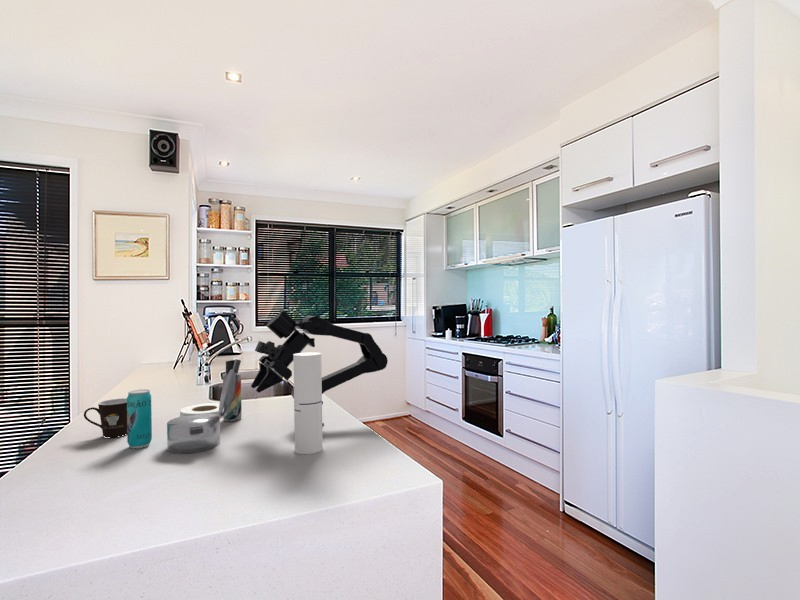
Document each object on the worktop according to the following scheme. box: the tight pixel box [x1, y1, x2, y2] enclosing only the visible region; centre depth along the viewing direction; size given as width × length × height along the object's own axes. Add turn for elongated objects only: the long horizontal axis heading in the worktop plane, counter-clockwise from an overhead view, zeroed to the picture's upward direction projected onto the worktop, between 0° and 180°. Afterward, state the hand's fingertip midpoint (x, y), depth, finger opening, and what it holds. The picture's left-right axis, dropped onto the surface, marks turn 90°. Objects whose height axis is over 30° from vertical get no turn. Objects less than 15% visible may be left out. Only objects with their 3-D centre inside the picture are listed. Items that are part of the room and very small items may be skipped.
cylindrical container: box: [293, 351, 324, 455], centre depth 114 cm, size 7×7×25 cm
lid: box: [219, 358, 242, 416], centre depth 124 cm, size 16×13×2 cm
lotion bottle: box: [222, 359, 243, 422], centre depth 145 cm, size 6×6×20 cm
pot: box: [166, 414, 221, 455], centre depth 119 cm, size 13×18×7 cm
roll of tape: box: [179, 402, 223, 418], centre depth 152 cm, size 16×15×3 cm
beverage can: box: [126, 389, 153, 450], centre depth 119 cm, size 6×6×15 cm
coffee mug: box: [83, 397, 127, 438], centre depth 130 cm, size 12×9×10 cm
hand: (254, 389), depth 127 cm, fingers open, 7 cm apart
